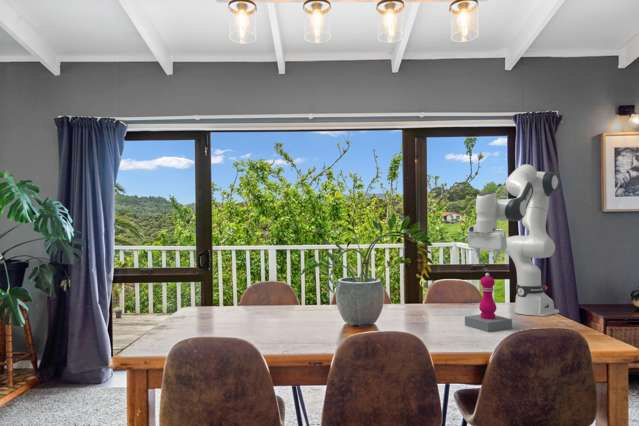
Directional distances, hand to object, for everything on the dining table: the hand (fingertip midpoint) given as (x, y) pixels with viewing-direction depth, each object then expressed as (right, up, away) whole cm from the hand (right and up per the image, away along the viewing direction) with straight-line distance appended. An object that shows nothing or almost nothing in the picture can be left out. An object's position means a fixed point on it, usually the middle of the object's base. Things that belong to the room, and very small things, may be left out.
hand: (487, 259), depth 210 cm
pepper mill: (0, -26, 0) cm, 26 cm away
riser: (0, -30, 0) cm, 30 cm away
